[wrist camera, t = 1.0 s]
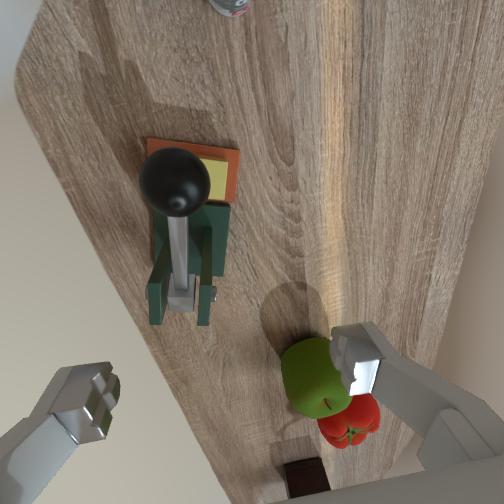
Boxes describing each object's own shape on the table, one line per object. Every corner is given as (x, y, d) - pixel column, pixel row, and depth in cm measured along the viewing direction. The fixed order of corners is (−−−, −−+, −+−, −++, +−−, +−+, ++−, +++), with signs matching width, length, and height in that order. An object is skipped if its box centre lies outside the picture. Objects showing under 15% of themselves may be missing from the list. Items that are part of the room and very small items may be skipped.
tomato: (342, 365, 50) (365, 408, 42) (374, 387, 55) (399, 430, 48) (295, 399, 53) (308, 445, 45) (329, 417, 58) (346, 461, 51)
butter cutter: (154, 196, 30) (116, 248, 18) (230, 204, 32) (240, 256, 20) (156, 268, 35) (126, 349, 22) (222, 271, 36) (228, 348, 24)
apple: (307, 319, 43) (334, 376, 33) (346, 344, 47) (380, 400, 38) (264, 358, 46) (277, 421, 36) (304, 378, 50) (326, 439, 41)
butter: (148, 136, 27) (139, 139, 24) (240, 149, 29) (243, 153, 26) (150, 192, 30) (142, 201, 27) (234, 200, 32) (237, 210, 28)
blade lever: (142, 128, 13) (124, 170, 11) (213, 138, 13) (211, 180, 11) (165, 282, 25) (159, 317, 22) (203, 284, 25) (201, 318, 23)
